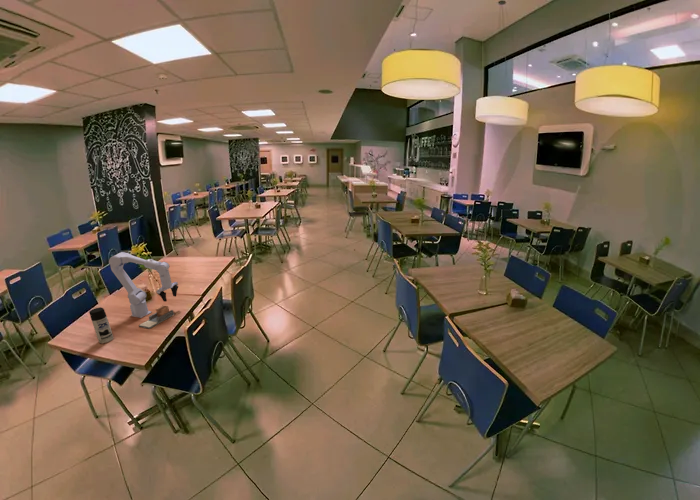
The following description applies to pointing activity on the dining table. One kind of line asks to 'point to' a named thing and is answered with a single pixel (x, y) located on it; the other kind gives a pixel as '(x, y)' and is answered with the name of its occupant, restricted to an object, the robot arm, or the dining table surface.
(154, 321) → the chute
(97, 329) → the spray can
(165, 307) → the block
